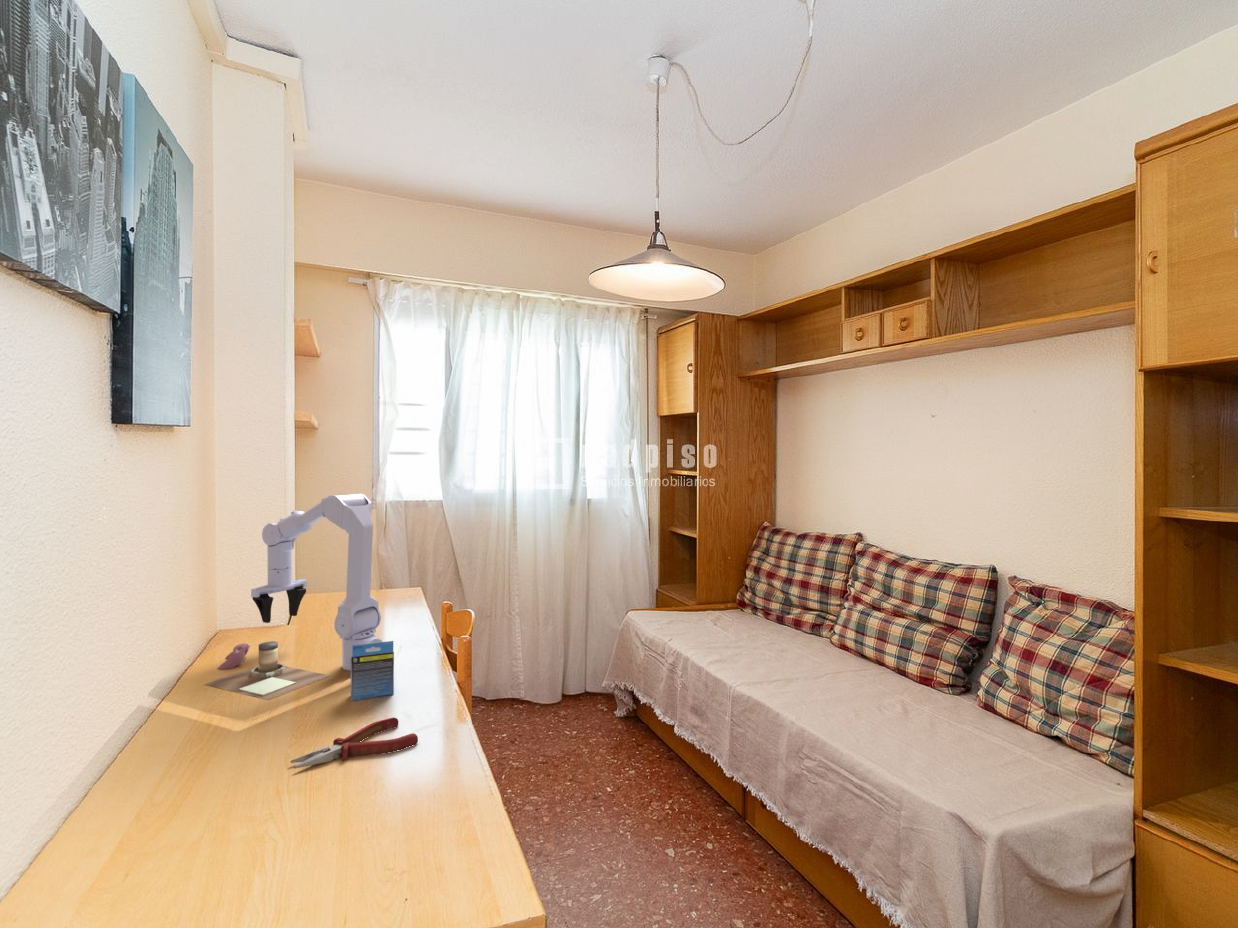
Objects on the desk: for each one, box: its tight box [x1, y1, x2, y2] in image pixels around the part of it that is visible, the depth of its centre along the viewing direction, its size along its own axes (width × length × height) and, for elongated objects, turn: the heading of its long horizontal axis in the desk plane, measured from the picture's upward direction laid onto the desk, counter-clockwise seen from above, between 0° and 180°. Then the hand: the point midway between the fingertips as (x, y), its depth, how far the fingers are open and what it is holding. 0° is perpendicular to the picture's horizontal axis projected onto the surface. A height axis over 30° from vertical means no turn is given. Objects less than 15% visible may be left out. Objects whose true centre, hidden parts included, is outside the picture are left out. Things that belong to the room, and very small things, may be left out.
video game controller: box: [217, 642, 251, 670], centre depth 154 cm, size 10×5×7 cm, turn 22°
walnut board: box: [202, 665, 332, 701], centre depth 142 cm, size 22×16×2 cm
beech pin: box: [258, 641, 279, 672], centre depth 146 cm, size 4×4×7 cm
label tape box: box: [350, 640, 395, 702], centre depth 137 cm, size 9×4×12 cm, turn 115°
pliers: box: [290, 717, 419, 769], centre depth 111 cm, size 12×20×3 cm, turn 131°
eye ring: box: [251, 662, 286, 679], centre depth 146 cm, size 7×7×1 cm
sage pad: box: [239, 677, 296, 696], centre depth 137 cm, size 8×8×1 cm
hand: (280, 618), depth 163 cm, fingers open, 7 cm apart
